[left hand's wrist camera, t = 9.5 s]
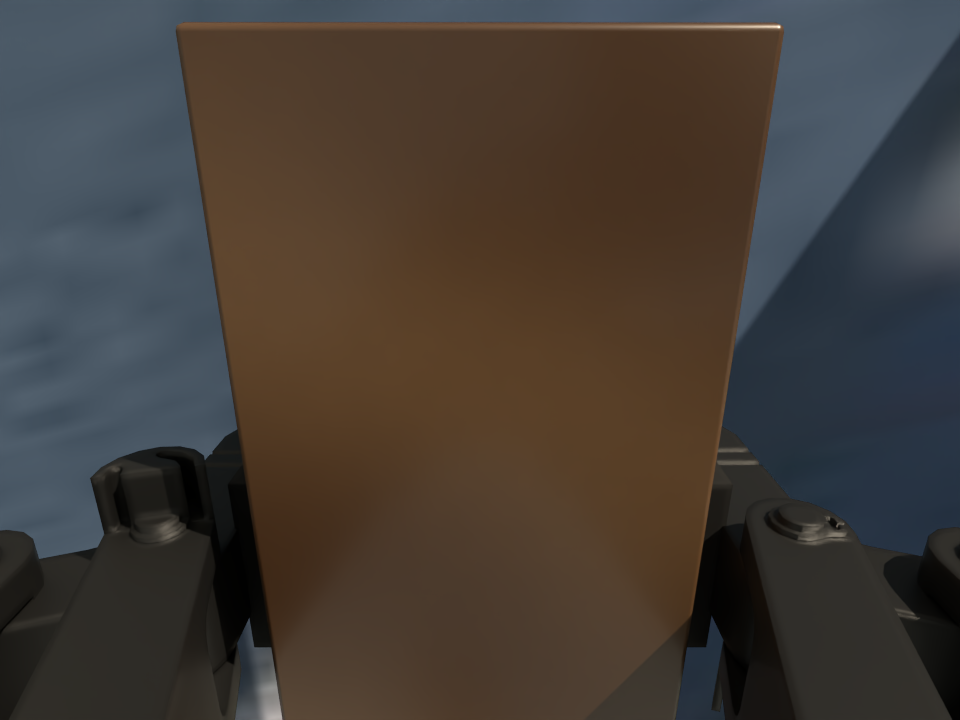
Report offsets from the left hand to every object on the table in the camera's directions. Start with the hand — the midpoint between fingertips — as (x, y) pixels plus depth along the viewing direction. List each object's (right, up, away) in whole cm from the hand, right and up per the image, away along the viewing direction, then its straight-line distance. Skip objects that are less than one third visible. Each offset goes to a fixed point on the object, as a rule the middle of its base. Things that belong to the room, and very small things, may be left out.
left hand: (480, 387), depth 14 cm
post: (0, -21, +8) cm, 22 cm away
